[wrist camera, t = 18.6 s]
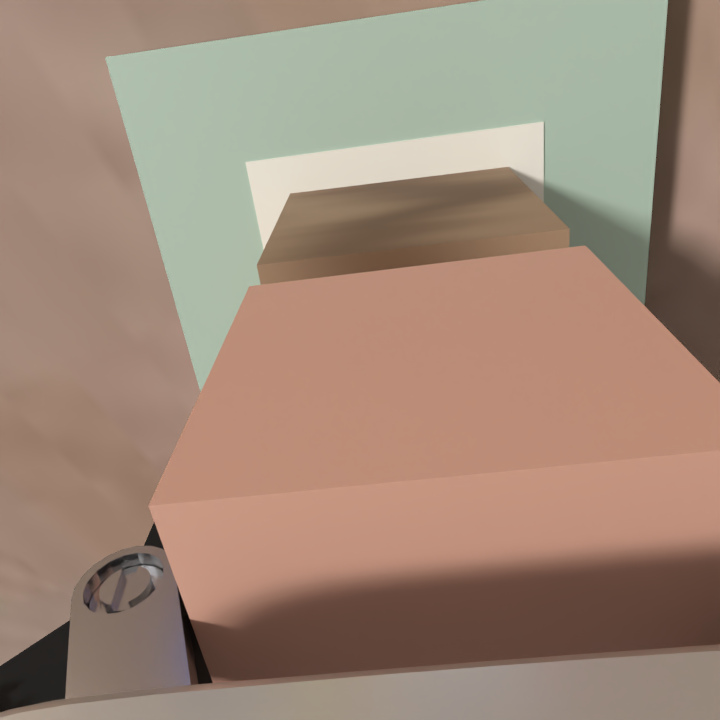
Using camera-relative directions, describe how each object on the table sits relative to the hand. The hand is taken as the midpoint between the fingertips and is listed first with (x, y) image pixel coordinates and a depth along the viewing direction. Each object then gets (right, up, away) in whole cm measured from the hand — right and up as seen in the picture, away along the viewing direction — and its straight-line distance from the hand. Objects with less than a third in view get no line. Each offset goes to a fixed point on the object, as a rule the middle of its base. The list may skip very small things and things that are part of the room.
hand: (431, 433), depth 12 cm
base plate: (0, +4, +8) cm, 9 cm away
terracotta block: (0, 0, +1) cm, 1 cm away
